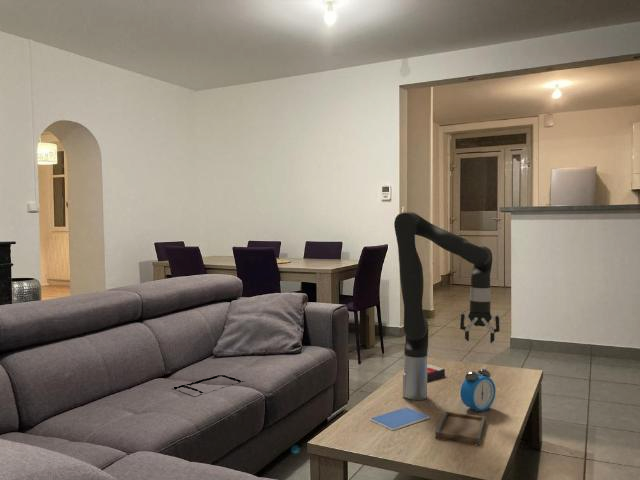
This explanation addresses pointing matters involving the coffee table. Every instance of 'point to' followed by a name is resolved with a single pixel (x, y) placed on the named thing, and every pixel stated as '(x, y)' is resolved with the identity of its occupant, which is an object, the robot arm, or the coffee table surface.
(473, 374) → the alarm clock
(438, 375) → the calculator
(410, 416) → the blue notebook
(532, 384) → the coffee table surface
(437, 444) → the coffee table surface
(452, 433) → the tray
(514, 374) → the coffee table surface
